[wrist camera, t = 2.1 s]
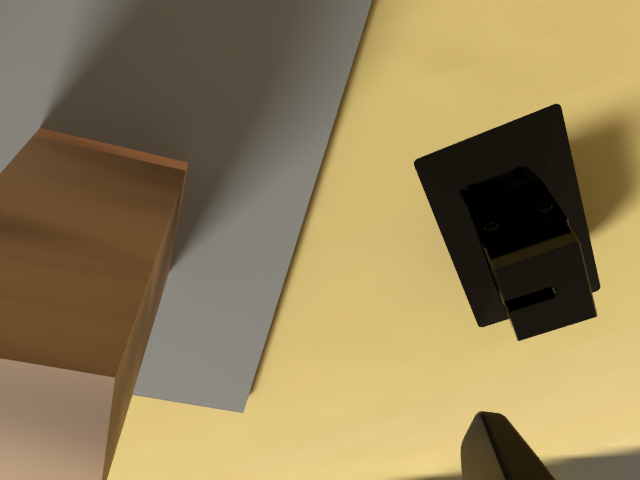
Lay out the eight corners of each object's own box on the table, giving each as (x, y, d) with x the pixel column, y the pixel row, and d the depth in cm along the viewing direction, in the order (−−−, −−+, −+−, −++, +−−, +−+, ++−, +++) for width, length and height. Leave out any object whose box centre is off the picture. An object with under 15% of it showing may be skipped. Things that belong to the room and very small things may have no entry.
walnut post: (168, 272, 24) (98, 508, 16) (36, 245, 23) (-112, 480, 15) (188, 162, 21) (114, 377, 13) (39, 128, 20) (-141, 334, 12)
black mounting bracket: (375, 125, 22) (389, 188, 18) (576, 44, 21) (637, 94, 17) (467, 348, 29) (492, 428, 25) (625, 299, 27) (677, 376, 23)
